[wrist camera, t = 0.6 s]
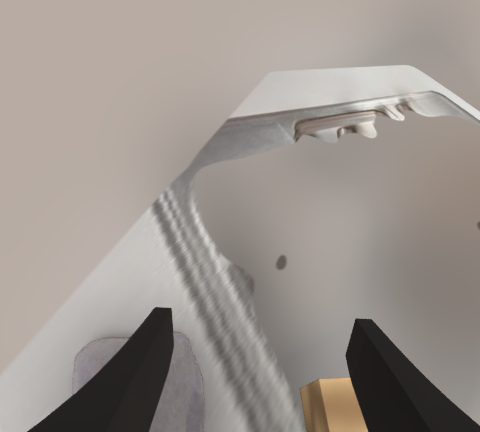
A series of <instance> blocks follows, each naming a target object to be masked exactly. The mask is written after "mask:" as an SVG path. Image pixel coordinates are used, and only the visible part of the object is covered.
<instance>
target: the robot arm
mask: <svg viewBox="0 0 480 432" xmlns="http://www.w3.org/2000/svg"><path fill="white" fill-rule="evenodd" d="M173 349H174V336H173V323H172V310H171V308H160V307H156V308H154V309H153V310H152V312H151V313H150V314H149V316H148V317H147V318H146V319H145V321H144V322H143V323H142V324H141V326H140V327H139V328H138V329H137V330H136V332H135V333H134V334H133V335H132V336H131V337H130V338H129V340H128V341H127V342H126V343H125V344H124V345H123V346H122V348H121V349H120V350H119V351H118V352H117V353H116V354H115V355H114V356H113V357H112V358H111V359H110V360H109V361H108V362H107V363H106V364H105V365H104V366H103V367H102V369H101V370H100V371H99V372H98V373H96V374H95V375H94V376H93V377H92V378H91V379H90V380H89V381H88V382H87V383H86V384H85V385H84V386H83V387H82V388H80V389H79V390H78V391H77V392H76V393H75V394H74V395H73V396H71V397H70V398H69V399H68V400H67V401H65V402H64V403H63V404H62V405H61V406H59V407H58V408H57V409H56V410H55V411H53V412H52V413H51V414H50V415H48V416H47V417H46V418H45V419H43V420H42V421H41V422H40V423H38V424H37V425H36V426H34V427H33V428H31V429H30V430H29V431H27V432H149V430H150V427H151V424H152V421H153V418H154V415H155V412H156V409H157V406H158V403H159V400H160V397H161V394H162V391H163V388H164V385H165V382H166V378H167V375H168V372H169V368H170V363H171V359H172V354H173ZM346 360H347V365H348V370H349V374H350V378H351V383H352V386H353V389H354V392H355V395H356V398H357V401H358V404H359V406H360V409H361V412H362V415H363V418H364V421H365V424H366V427H367V429H368V432H480V426H479V425H478V424H477V423H476V422H475V421H473V420H472V419H471V418H470V417H469V416H468V415H466V414H465V413H464V412H463V411H462V410H461V409H459V408H458V407H457V406H456V405H455V404H454V403H452V402H451V401H450V400H449V399H448V398H447V397H446V396H445V395H444V394H443V393H441V391H440V390H439V389H437V388H436V387H435V386H434V385H433V384H432V383H431V382H430V381H429V380H428V379H427V378H426V377H425V376H424V375H423V374H422V373H421V372H420V371H419V370H418V369H417V368H416V367H415V366H414V365H413V364H412V363H411V362H410V361H409V360H408V359H407V358H406V357H405V355H403V353H402V352H401V351H400V350H399V349H398V348H397V347H396V346H395V345H394V344H393V342H392V341H391V340H390V339H389V338H388V337H387V336H386V335H385V334H384V333H383V331H382V330H381V329H380V328H379V327H378V326H377V325H376V324H375V323H374V322H373V320H371V319H356V320H355V323H354V327H353V330H352V334H351V338H350V341H349V345H348V349H347V352H346Z"/></svg>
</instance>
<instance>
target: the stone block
mask: <svg viewBox="0 0 480 432" xmlns="http://www.w3.org/2000/svg"><path fill="white" fill-rule="evenodd" d="M173 336H174V349H173V354H172V359H171V363H170V368H169V372H168V375H167V378H166V382H165V385H164V388H163V391H162V394H161V397H160V400H159V403H158V406H157V409H156V412H155V415H154V418H153V421H152V424H151V427H150V430H149V432H203V422H204V413H205V410H204V392H203V382H202V375H201V372H200V370H199V367H198V365H197V363H196V362H195V356H194V354H193V353H192V350H191V346H190V343H189V339H188V338H187V337H186V336H185V335H184V334H181V333H179V332H173ZM128 340H129V338H105V339H99V340H95V341H92V342H90V343H89V344H87V345H86V346H85V347H83V348H82V350H81V351H80V352H79V353H78V354H77V356H76V358H75V365H74V375H73V395H74V394H75V393H76V392H77V391H78V390H79V389H80V388H82V387H83V386H84V385H85V384H86V383H87V382H88V381H89V380H90V379H91V378H92V377H93V376H94V375H95V374H96V373H98V372H99V371H100V370H101V369H102V367H103V366H104V365H105V364H106V363H107V362H108V361H109V360H110V359H111V358H112V357H113V356H114V355H115V354H116V353H117V352H118V351H119V350H120V349H121V348H122V346H123V345H124V344H125V343H126V342H127V341H128Z"/></svg>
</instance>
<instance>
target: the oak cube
mask: <svg viewBox="0 0 480 432" xmlns="http://www.w3.org/2000/svg"><path fill="white" fill-rule="evenodd" d="M300 394H301V400H302V406H303V412H304V416H305V422H306V428H307V432H368V429H367V427H366V424H365V421H364V418H363V415H362V412H361V409H360V406H359V404H358V401H357V398H356V395H355V392H354V389H353V386H352V383H351V378H335V379H334V378H333V379H318V380H316V381H314V382H312V383H310V384H308V385H306V386H304V387H302V388H300Z"/></svg>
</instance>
